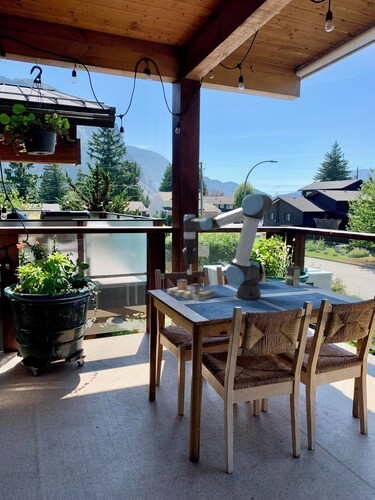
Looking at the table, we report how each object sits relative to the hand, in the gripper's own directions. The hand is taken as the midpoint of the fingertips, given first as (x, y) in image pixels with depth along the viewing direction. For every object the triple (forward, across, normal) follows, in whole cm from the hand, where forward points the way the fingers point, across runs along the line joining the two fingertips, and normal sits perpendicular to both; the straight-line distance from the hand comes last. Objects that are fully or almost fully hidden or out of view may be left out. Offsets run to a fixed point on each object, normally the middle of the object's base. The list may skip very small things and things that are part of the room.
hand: (189, 274), depth 240 cm
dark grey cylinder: (+12, -46, +18) cm, 51 cm away
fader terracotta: (+8, +6, -1) cm, 11 cm away
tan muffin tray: (+12, +6, +6) cm, 15 cm away
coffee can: (+13, -68, +41) cm, 81 cm away
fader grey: (+9, +11, +13) cm, 19 cm away
